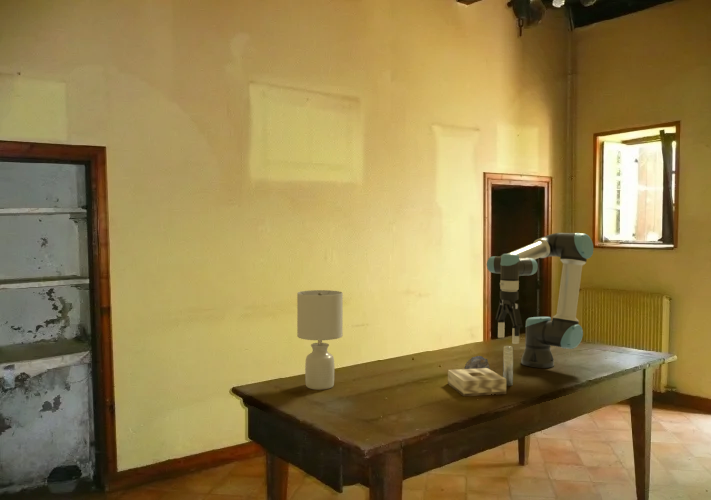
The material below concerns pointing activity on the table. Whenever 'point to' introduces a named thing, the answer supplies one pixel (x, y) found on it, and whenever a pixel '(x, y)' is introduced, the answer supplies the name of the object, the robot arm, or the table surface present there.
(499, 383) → the bore block
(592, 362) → the table surface
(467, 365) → the rock
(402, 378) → the table surface
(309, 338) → the lamp
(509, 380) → the pin
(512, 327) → the robot arm
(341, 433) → the table surface
